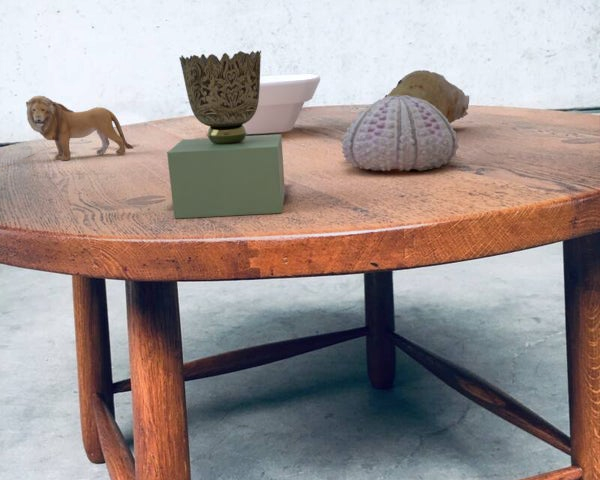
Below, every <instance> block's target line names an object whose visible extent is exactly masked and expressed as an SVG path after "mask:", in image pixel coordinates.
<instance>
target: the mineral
mask: <svg viewBox="0 0 600 480" xmlns="http://www.w3.org/2000/svg"><path fill="white" fill-rule="evenodd" d="M396 84H397V85H396V86H395V87H393V88H392V90H390V92H389V93H388V94H385V95H384V97H383V98H385V97H387V96H397V95H399V96H403V95H408V96H411V97H414V98H419V99H422V100H425V101H428V102H429V103H430V104H432V105H433V106H435V107H436V108H437V109H438V110H439V111H440V112H441V113H442V115H444V116H445V117H446V118H447V120H448V122H449V123H450V124H452V123H453V122H455V121H457V120H460V119H463V118H464V117H465V116H467V115H469V113H468V111H467V110H468V109H469V104H470V95H468V94H467V95H465V92H464V91H463V89H461V88H459V87H458V86H456V84H453V83H452V82H449V81H448V80H447V79H446V77H444V75H442V74H439V73H438V72H435V71H430V70H425V69H423V70H422V69H419V70H414V71H411V72H410V73H407V74H406V75H404V76H403V77H402V78H401V79H400V80H399V81H398V82H397V83H396ZM378 100H381V99H378Z"/></svg>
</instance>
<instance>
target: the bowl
mask: <svg viewBox="0 0 600 480" xmlns="http://www.w3.org/2000/svg"><path fill="white" fill-rule="evenodd" d="M320 82H321V76H320V75H319V74H313V73H300V74H299V73H298V74H297V73H296V74H280V75H262V76H261V75H260V89H259V101H258V106H257V110H256V112H255V114H254V116H253V117H252V118H251V119H250V120H249V121H248V122H246V123H244V124H243V126H244V127H245V129H246V132H247V133H246V135H265V134H276V133H278V134H279V133H285V132H288V131H291V130H292V129H293V128H294V127H295V124H296V122H297V120H298V117H299V115H300V113H301V111H302V110H303V109H302V108H303V107H304V105H305V103H306V102H308V101H311V100H312V99H313V97H314V95H315V93H316V90H317V89H318V86H319V84H320Z"/></svg>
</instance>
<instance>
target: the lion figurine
mask: <svg viewBox="0 0 600 480" xmlns="http://www.w3.org/2000/svg"><path fill="white" fill-rule="evenodd" d="M25 106H26V119H27V122H28V124H29V126H30V128H31V129H32V130H33V131H34V132H37V133H39V134H40V135H41V136H42V137H43V139H45V140H47V141H54V143H55V147H56V149H57V151H58V153H57V154H56V155H55V156H54V159H55V160H60V161H70V159H71V155H72V154H71V153H72V152H71V150H70V149H71V148H70V141H71V139H83V138H86V137H88V136H90V135H91V134H92V133H94V132H96V133H97V134H98V137H99V139H100V140H101V144H102V145H101V147H100V149H97V150H96V155H105V154H106V152H107V150H108V148H109V146H110V141H111V142H114V143H115V144H117V146H118V147H119V149H116V150H115V154H116V155H118V156H121V155H125V154H126V149H128V150H130V149H131V150H133V149H134V147H133V146H132V145H131V144H130V143H128V142H127V140H126V137H125V135H124V132H123V129H122V126H121V124H120V122H119V120H118V118H117V117H116V115H115V114H114V112H113V111H111V110H109V109H107V108H105V107H101V106H100V107H99V106H98V107H97V106H96V107H93V108H91V109H88V110H83V111H74V110H71V109H68V108H67V106H65V105H63V104H62V103H58V102H56V101H53V100H52V99H50V98H49V97H46V96H45V95H35V96H32V97H31V98H29V99H28V101H26V102H25ZM113 123H114V124H113ZM114 126H115V127H114ZM115 128H116V129H115ZM117 132H118V133H117ZM109 140H110V141H109Z"/></svg>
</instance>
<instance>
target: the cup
mask: <svg viewBox="0 0 600 480" xmlns="http://www.w3.org/2000/svg"><path fill="white" fill-rule="evenodd" d="M179 62H180V66H181V71H182V75H183V80H184V85H185V90H186V94H187V100H188V101H189V102H188V103H189V107H190V109H191V111H192V114H193V115H194V117H195V118H196V119H197V121H199V122H200V123H201V124H203V125H205V126H208V130H207V134H206V136H207V138H209V140H210V141H211V142H212V143H214V144H233V143H239V142H241V141H243V140H244V139H245V137H246V136H247V134H246V133H247V132H246V129H245V127H244V126H243V124H244V123H246V122H248V121H249V120H250V119H251V118H252V117H253V116H254V114H255V112H256V110H257V106H258V101H259V89H260V76H261V63H262V50H257V51H255V52H254V51H253V50H251V52H250V53H249V52H244V51H242V50H240V51H238V52H237V53H234V54H233V56H232V57H230V55H229V54H228V53H226V52H224V53H223V54H222V56H221V58H220V59H219V57H218V56H216V54H213V53H210V54H209V55H208V56H207V57H206V55H205V54H204V53H202V54H201V55H200V56H198V55H196V54H193V55H192V54H190V56H189V57H188V56H186V57H184V55H183V54H182V55H181V56H179Z"/></svg>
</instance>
